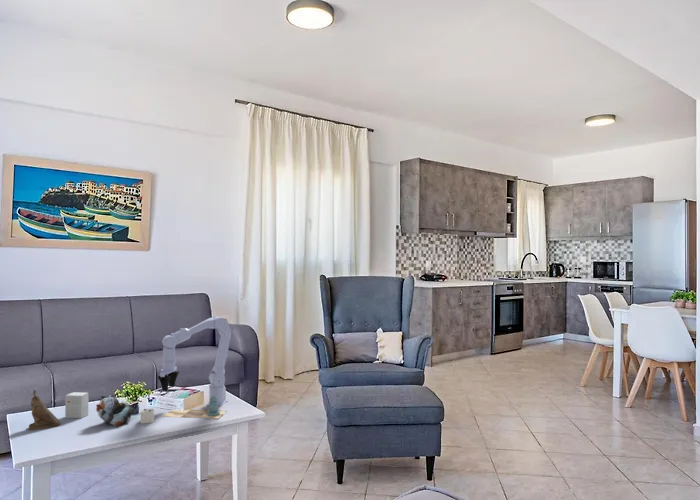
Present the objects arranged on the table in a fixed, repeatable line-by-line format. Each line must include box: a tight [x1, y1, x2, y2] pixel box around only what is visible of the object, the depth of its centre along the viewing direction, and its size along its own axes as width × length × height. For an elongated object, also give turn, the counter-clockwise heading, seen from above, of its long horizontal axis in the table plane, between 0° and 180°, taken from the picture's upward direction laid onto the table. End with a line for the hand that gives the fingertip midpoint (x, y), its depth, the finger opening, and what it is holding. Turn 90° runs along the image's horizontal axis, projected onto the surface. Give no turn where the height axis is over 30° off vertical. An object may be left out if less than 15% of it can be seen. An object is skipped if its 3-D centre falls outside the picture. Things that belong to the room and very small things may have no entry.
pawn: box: [207, 396, 221, 416], centre depth 238 cm, size 6×6×8 cm
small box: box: [64, 391, 89, 419], centre depth 234 cm, size 8×6×10 cm
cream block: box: [140, 408, 155, 424], centre depth 227 cm, size 5×5×6 cm
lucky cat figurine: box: [95, 394, 135, 427], centre depth 225 cm, size 15×12×14 cm
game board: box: [162, 408, 227, 420], centre depth 238 cm, size 12×27×1 cm, turn 85°
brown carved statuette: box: [28, 390, 61, 431], centre depth 218 cm, size 12×6×18 cm, turn 117°
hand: (168, 388), depth 245 cm, fingers open, 7 cm apart
